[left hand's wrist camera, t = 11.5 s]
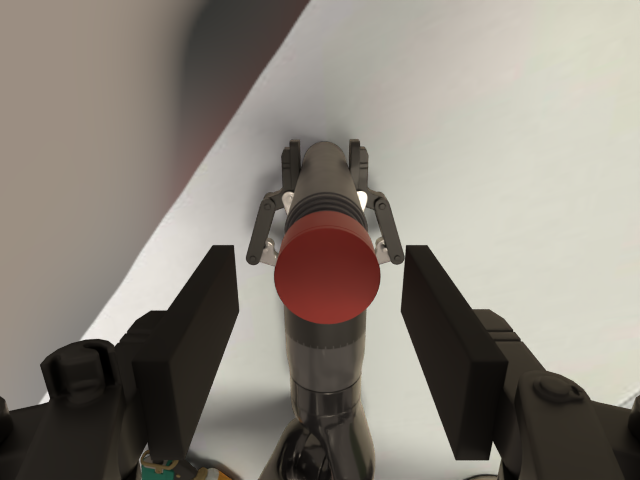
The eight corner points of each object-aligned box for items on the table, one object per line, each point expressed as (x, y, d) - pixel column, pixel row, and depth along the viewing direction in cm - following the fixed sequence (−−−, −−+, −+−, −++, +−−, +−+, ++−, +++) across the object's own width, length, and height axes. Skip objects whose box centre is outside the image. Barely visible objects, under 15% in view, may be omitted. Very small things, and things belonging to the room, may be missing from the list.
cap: (360, 304, 17) (365, 332, 15) (272, 287, 17) (265, 313, 15) (384, 221, 16) (393, 240, 14) (289, 201, 16) (284, 217, 14)
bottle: (340, 187, 39) (365, 329, 16) (299, 178, 38) (265, 309, 15) (350, 146, 37) (393, 235, 14) (308, 137, 37) (284, 212, 14)
